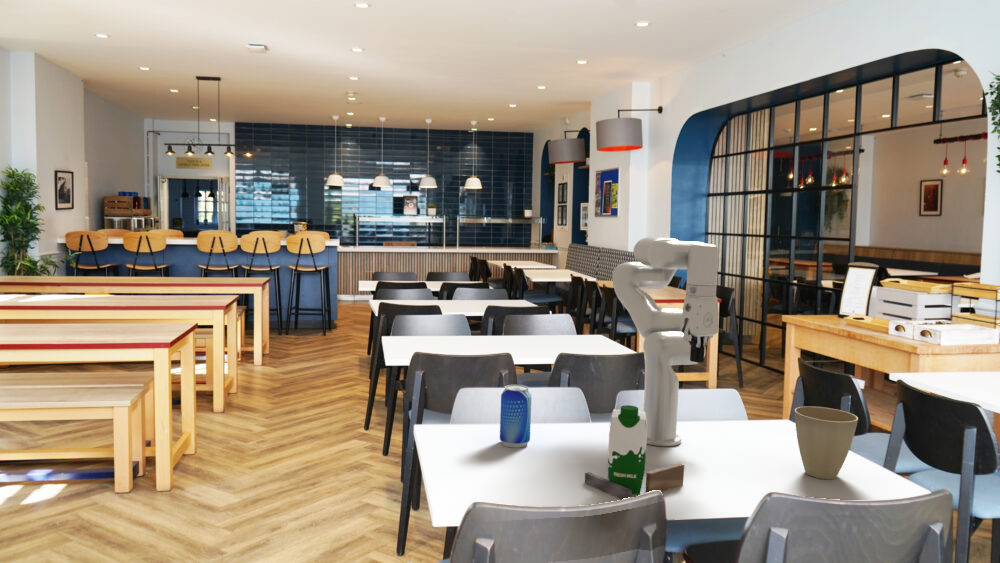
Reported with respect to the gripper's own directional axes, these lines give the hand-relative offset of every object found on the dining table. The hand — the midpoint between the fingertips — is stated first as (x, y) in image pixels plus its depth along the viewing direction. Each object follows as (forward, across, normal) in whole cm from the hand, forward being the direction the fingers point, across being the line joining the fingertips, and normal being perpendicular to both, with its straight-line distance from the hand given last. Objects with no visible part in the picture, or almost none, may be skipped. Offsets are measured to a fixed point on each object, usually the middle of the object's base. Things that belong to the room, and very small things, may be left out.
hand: (696, 361), depth 198 cm
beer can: (+27, -30, +37) cm, 55 cm away
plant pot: (+27, +22, -24) cm, 42 cm away
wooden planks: (+27, -25, -3) cm, 37 cm away
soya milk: (+27, -28, -4) cm, 40 cm away
